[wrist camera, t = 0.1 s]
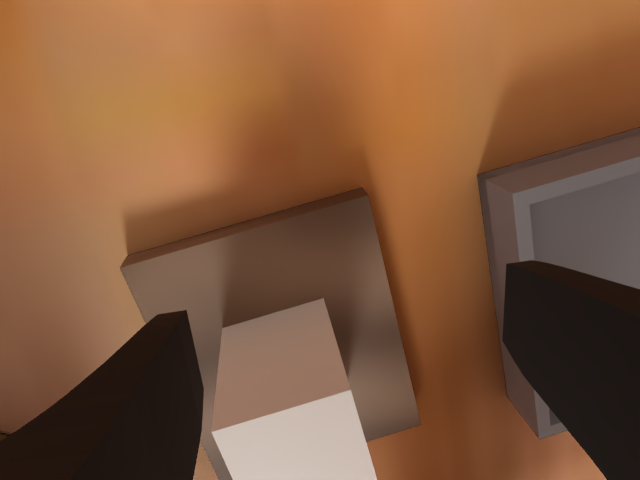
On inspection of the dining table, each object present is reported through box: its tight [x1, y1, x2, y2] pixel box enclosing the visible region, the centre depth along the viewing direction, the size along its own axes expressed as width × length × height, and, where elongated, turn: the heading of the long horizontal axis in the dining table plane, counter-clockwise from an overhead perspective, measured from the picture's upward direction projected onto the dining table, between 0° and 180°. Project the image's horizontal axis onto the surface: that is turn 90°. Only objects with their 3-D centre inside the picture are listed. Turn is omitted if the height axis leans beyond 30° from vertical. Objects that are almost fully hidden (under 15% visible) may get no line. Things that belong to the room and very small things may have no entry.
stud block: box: [120, 188, 421, 480], centre depth 20 cm, size 12×10×5 cm
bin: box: [477, 128, 640, 439], centre depth 22 cm, size 12×12×3 cm
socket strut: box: [211, 298, 377, 480], centre depth 18 cm, size 4×4×6 cm
